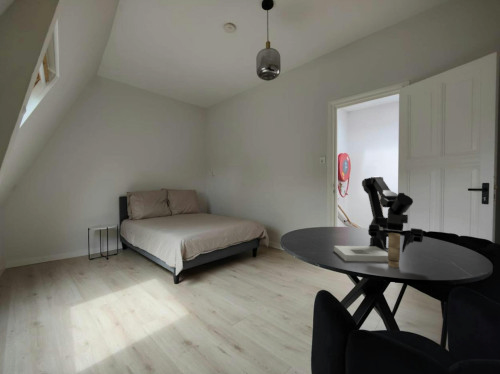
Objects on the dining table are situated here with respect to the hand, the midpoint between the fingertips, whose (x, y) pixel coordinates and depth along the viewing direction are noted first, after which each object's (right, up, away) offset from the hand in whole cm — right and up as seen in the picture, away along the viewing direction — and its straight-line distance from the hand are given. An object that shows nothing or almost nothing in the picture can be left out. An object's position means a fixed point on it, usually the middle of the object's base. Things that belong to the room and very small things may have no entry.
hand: (393, 250), depth 90 cm
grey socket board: (-6, -6, +13) cm, 16 cm away
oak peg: (+1, -7, +1) cm, 7 cm away
